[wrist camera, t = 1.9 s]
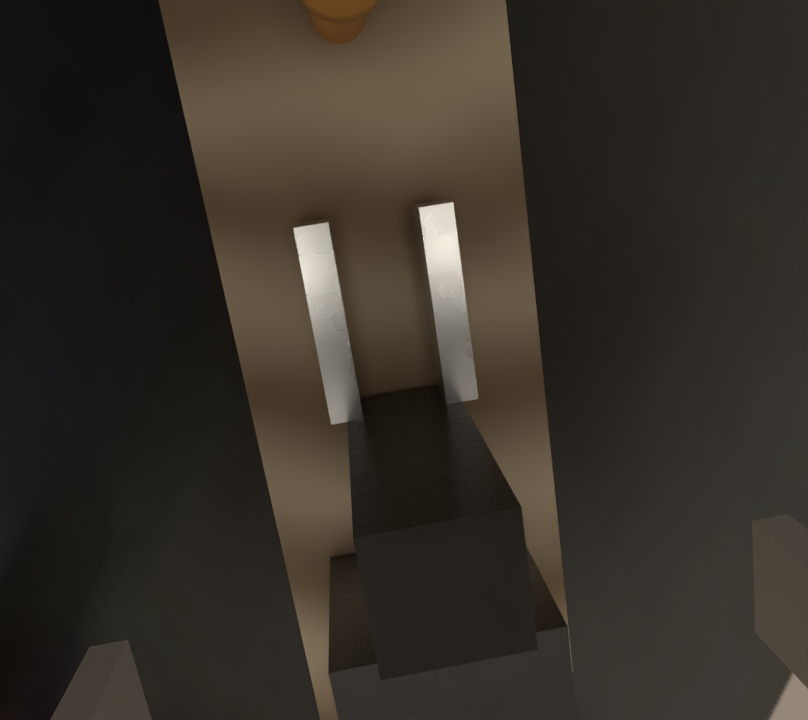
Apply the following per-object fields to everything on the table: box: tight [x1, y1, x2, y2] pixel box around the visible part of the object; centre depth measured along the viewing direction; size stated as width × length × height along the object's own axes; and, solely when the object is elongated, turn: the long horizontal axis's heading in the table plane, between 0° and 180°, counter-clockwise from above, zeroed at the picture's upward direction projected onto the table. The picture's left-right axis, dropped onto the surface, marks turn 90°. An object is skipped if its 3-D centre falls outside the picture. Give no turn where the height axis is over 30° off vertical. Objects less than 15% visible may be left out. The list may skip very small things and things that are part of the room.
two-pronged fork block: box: [293, 200, 538, 681], centre depth 20 cm, size 19×5×9 cm, turn 9°
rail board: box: [159, 0, 573, 720], centre depth 24 cm, size 26×10×2 cm, turn 9°
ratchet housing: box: [328, 546, 577, 720], centre depth 23 cm, size 6×7×6 cm
